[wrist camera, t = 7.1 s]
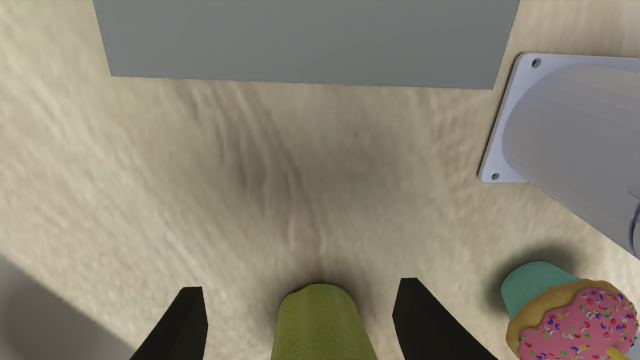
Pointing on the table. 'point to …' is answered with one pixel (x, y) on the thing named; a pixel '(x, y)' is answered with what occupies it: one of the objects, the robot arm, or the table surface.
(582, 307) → the cupcake
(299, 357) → the plant pot
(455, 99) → the table surface
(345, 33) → the mat
